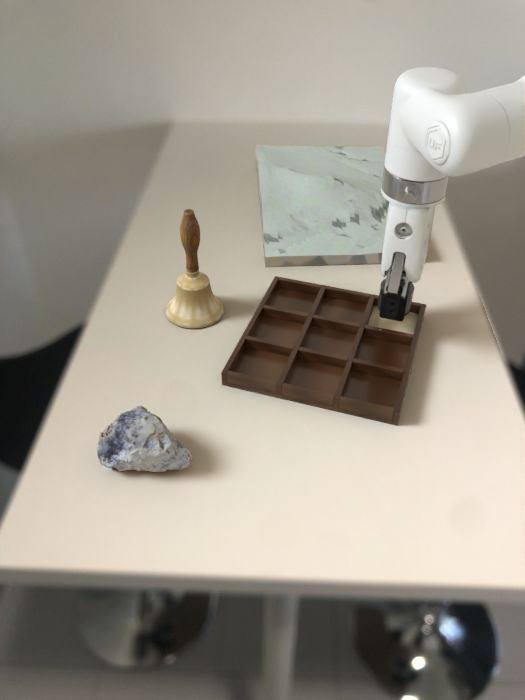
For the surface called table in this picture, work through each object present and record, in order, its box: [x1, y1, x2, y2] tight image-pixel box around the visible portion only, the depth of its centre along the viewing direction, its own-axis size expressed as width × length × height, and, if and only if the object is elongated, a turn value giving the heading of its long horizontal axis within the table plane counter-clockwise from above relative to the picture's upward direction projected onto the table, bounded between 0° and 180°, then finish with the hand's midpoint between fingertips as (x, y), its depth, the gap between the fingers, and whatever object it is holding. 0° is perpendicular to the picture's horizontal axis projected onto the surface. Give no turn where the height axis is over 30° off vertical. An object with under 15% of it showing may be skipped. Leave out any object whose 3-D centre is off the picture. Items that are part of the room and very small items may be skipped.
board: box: [220, 275, 427, 426], centre depth 89 cm, size 22×22×2 cm
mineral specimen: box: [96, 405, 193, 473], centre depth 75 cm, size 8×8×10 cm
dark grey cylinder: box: [378, 278, 415, 316], centre depth 90 cm, size 4×4×4 cm
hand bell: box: [165, 208, 225, 330], centre depth 91 cm, size 8×8×16 cm
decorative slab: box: [255, 143, 389, 268], centre depth 118 cm, size 38×27×5 cm
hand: (394, 305), depth 91 cm, fingers closed on dark grey cylinder, 4 cm apart
